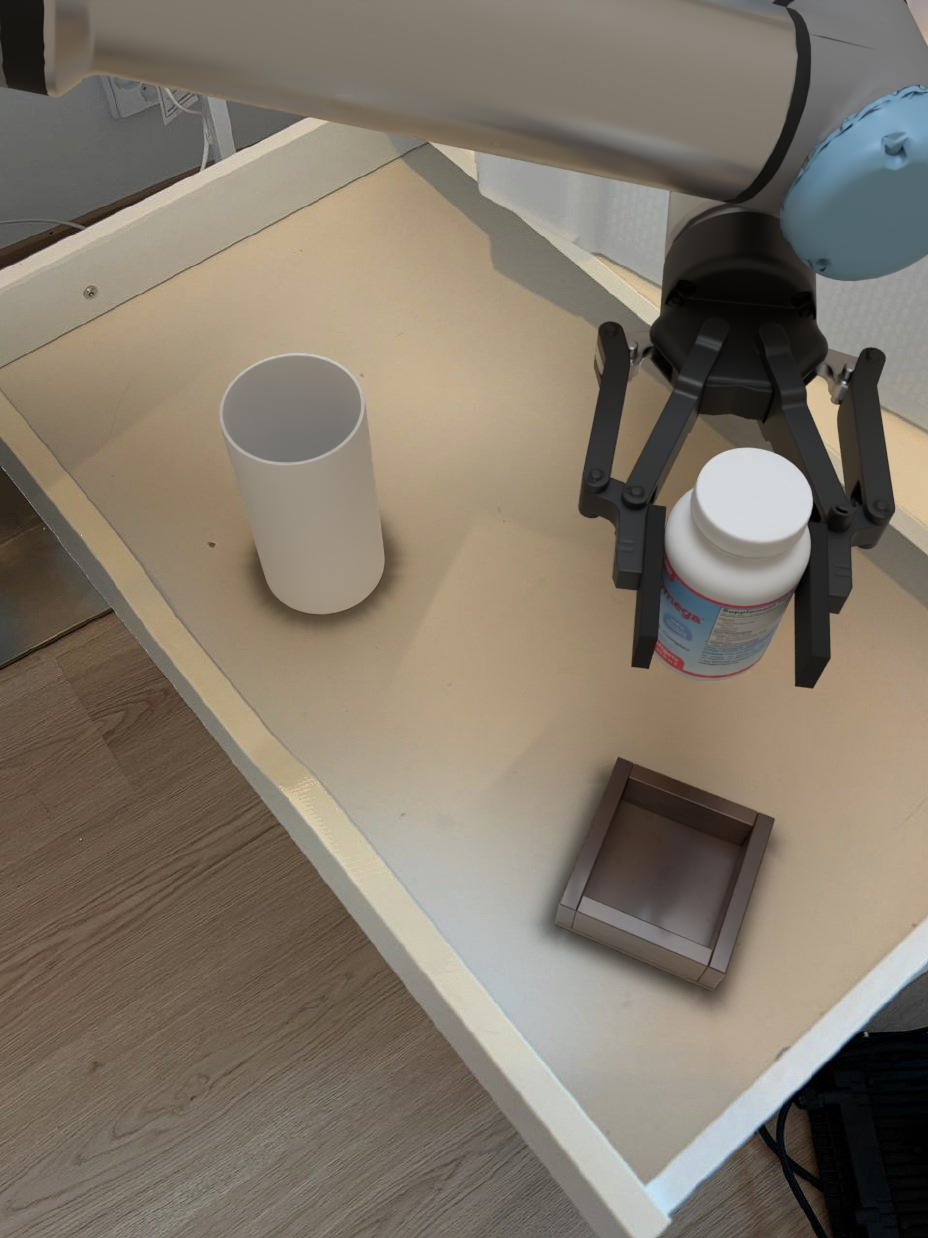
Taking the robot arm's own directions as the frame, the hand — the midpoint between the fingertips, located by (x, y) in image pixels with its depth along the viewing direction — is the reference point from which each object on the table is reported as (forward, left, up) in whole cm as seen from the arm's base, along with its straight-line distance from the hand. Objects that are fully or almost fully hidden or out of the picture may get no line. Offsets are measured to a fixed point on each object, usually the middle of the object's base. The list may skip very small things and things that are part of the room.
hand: (727, 661), depth 47 cm
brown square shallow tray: (+1, -1, -24) cm, 24 cm away
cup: (-27, +11, -24) cm, 38 cm away
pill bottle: (-1, +5, -7) cm, 8 cm away
